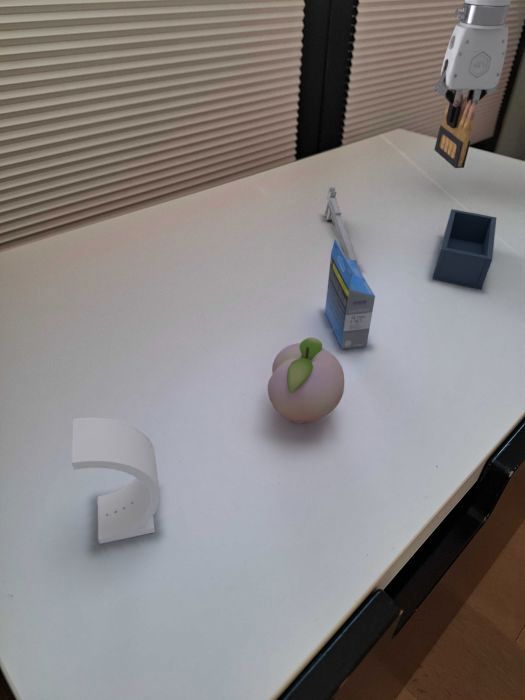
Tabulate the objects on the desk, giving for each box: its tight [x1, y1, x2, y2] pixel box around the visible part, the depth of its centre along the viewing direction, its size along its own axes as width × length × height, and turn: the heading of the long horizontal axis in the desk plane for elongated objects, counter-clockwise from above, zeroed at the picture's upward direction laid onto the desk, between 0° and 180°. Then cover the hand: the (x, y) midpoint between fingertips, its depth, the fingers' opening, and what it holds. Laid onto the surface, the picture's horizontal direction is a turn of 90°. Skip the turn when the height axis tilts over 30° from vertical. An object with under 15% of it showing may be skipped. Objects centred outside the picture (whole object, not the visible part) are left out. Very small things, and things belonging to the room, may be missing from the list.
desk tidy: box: [431, 208, 497, 291], centre depth 85 cm, size 8×16×6 cm, turn 158°
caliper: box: [324, 187, 359, 268], centre depth 89 cm, size 20×1×6 cm, turn 8°
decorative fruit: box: [267, 337, 345, 424], centre depth 56 cm, size 9×8×10 cm
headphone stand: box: [71, 416, 161, 545], centre depth 45 cm, size 5×6×12 cm
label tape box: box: [324, 236, 376, 350], centre depth 68 cm, size 9×4×12 cm, turn 9°
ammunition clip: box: [433, 94, 477, 169], centre depth 101 cm, size 11×2×12 cm, turn 8°
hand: (456, 125), depth 101 cm, fingers closed on ammunition clip, 1 cm apart
